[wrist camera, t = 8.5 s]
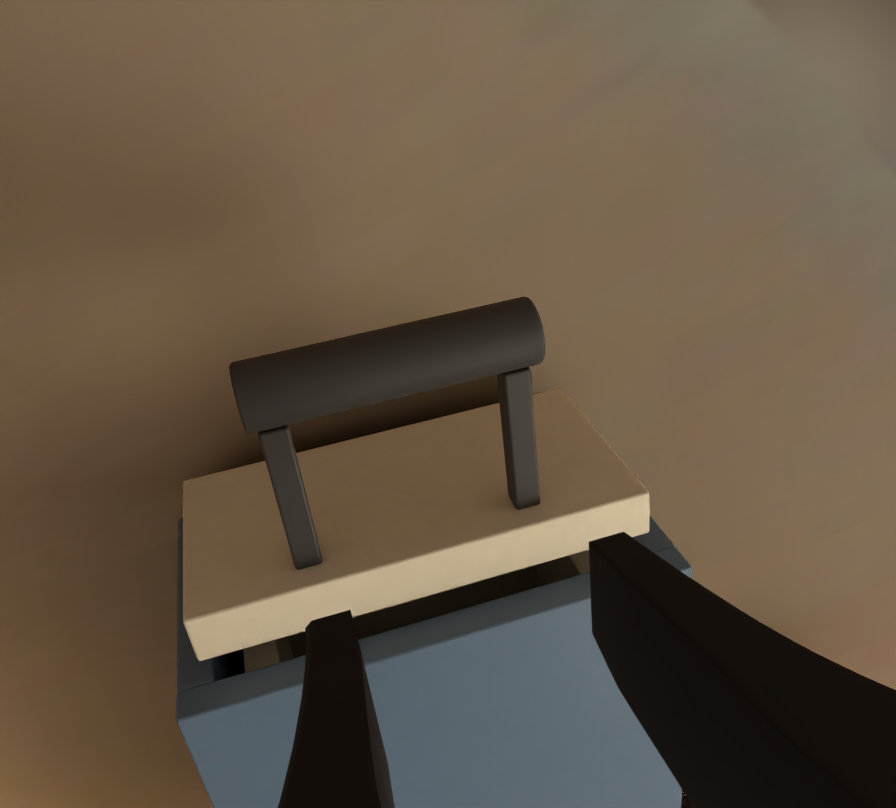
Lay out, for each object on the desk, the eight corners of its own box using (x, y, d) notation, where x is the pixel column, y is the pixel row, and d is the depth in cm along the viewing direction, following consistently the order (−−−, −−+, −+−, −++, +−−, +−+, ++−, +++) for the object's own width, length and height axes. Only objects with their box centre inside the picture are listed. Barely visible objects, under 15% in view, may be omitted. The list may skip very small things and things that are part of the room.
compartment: (177, 517, 23) (175, 721, 17) (569, 417, 25) (693, 567, 19) (278, 798, 29) (302, 1018, 23) (583, 700, 31) (678, 879, 25)
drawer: (121, 305, 19) (103, 417, 14) (550, 216, 21) (653, 290, 16) (280, 764, 27) (299, 925, 23) (575, 671, 29) (647, 803, 24)
